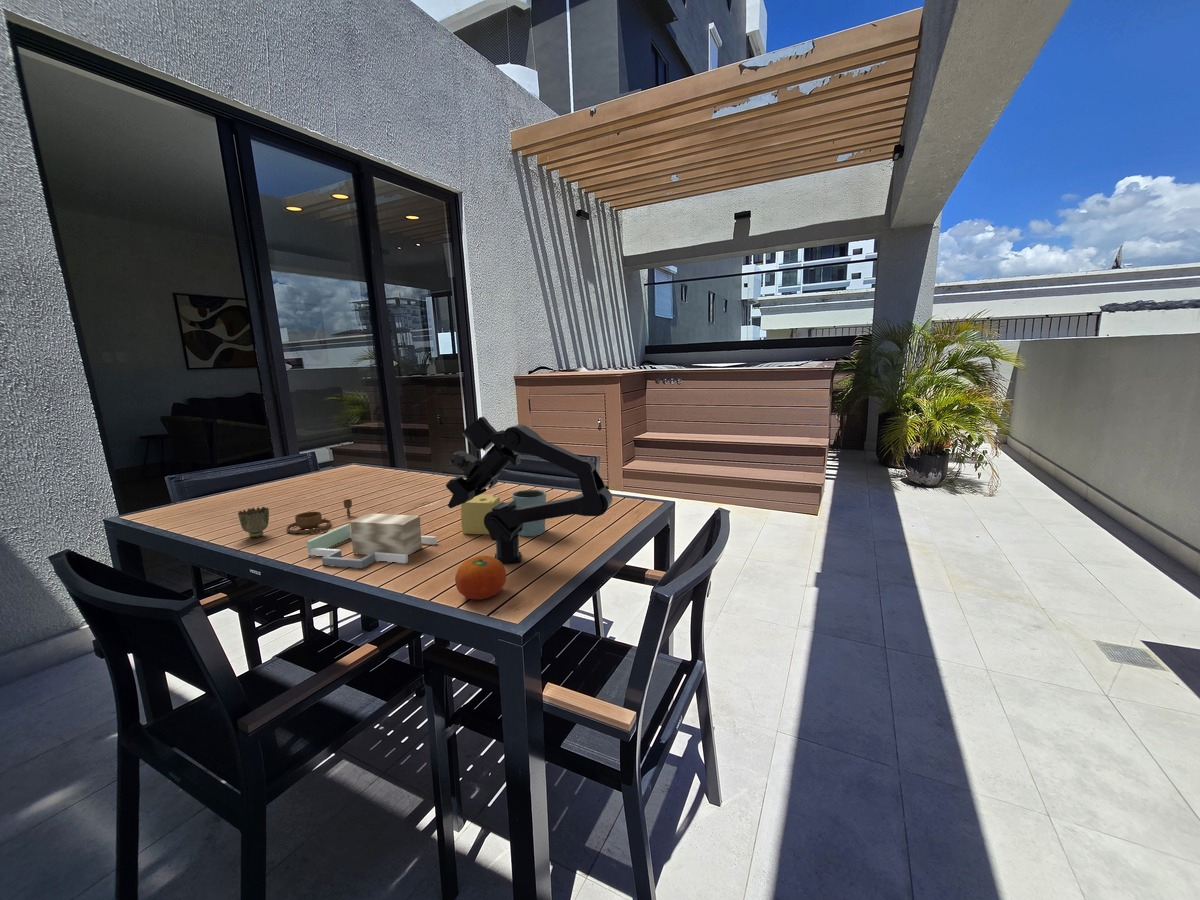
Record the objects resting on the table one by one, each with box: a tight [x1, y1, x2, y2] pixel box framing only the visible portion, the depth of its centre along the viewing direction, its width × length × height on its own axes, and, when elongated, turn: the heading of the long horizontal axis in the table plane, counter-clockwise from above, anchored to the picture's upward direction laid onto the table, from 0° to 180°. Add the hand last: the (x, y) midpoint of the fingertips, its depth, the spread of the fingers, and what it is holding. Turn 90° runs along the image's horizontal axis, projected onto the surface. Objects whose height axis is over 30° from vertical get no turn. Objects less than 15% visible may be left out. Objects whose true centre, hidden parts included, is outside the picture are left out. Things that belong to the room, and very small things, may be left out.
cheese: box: [460, 493, 503, 535], centre depth 148 cm, size 10×11×10 cm
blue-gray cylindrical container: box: [511, 489, 547, 537], centre depth 145 cm, size 10×10×12 cm
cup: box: [237, 506, 270, 539], centre depth 142 cm, size 8×7×8 cm
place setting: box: [286, 499, 353, 535], centre depth 153 cm, size 18×20×6 cm
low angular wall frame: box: [306, 523, 437, 569], centre depth 131 cm, size 28×25×4 cm
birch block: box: [350, 513, 423, 556], centre depth 130 cm, size 15×8×9 cm, turn 80°
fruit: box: [454, 555, 507, 600], centre depth 104 cm, size 11×10×8 cm
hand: (453, 504), depth 125 cm, fingers open, 4 cm apart
